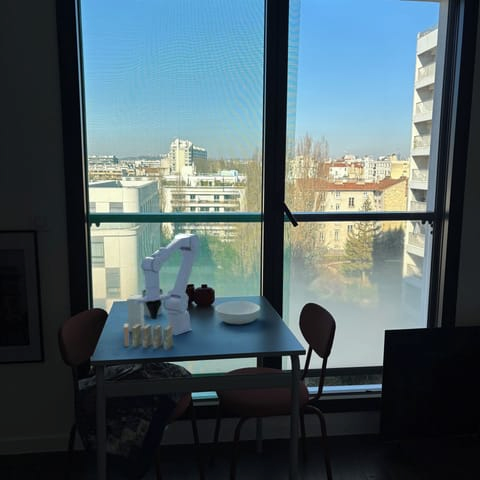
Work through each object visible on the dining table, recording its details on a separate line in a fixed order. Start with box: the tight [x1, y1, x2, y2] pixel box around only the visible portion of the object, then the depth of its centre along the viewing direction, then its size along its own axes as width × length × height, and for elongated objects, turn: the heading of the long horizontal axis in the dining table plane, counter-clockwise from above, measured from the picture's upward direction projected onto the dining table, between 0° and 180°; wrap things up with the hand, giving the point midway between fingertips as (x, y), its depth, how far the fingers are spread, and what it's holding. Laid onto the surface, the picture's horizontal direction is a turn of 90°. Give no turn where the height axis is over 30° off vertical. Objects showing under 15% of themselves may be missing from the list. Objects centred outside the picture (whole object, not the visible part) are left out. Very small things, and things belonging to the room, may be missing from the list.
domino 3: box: [152, 324, 163, 350], centre depth 186 cm, size 2×5×8 cm, turn 167°
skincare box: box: [126, 294, 146, 333], centre depth 207 cm, size 8×6×15 cm
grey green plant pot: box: [141, 288, 164, 317], centre depth 230 cm, size 10×10×12 cm
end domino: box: [123, 323, 130, 347], centre depth 189 cm, size 2×5×8 cm, turn 11°
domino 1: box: [131, 324, 143, 348], centre depth 188 cm, size 2×5×8 cm, turn 167°
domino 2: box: [141, 324, 153, 349], centre depth 187 cm, size 2×5×8 cm, turn 167°
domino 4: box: [163, 325, 174, 350], centre depth 185 cm, size 2×5×8 cm, turn 167°
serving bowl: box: [215, 301, 261, 325], centre depth 216 cm, size 21×21×7 cm
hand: (153, 318), depth 190 cm, fingers closed
